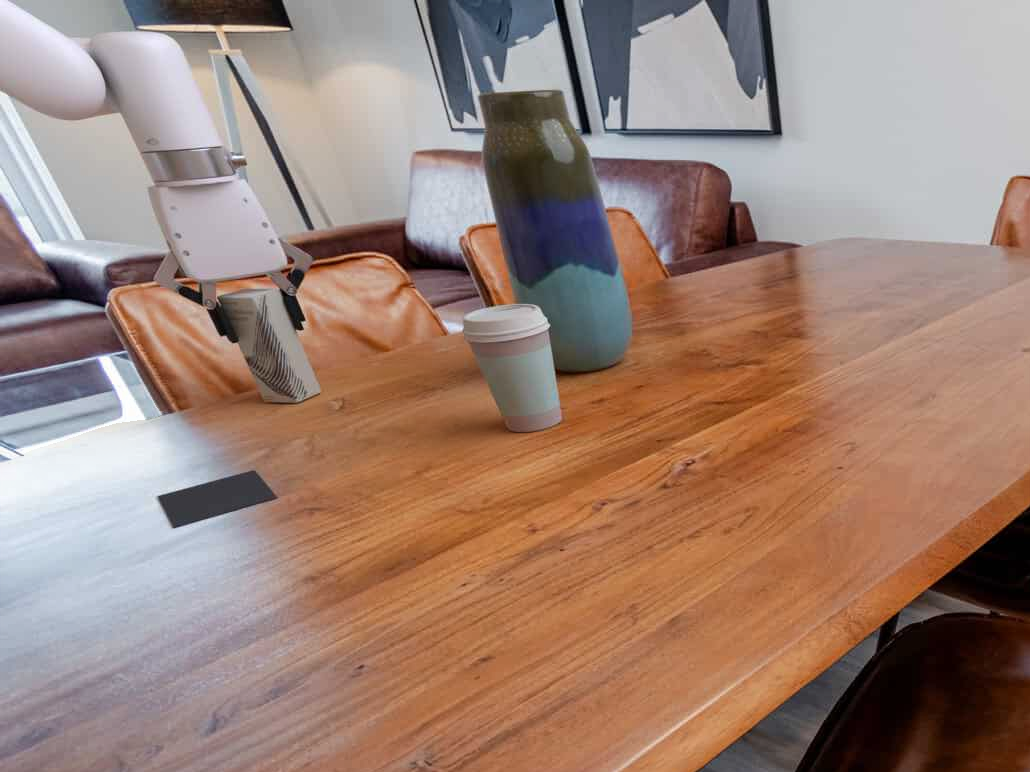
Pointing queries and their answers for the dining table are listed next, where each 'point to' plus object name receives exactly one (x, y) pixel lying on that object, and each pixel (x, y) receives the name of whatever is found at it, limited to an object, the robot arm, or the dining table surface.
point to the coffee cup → (516, 363)
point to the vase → (555, 227)
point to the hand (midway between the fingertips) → (266, 333)
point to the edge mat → (215, 498)
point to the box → (270, 345)
